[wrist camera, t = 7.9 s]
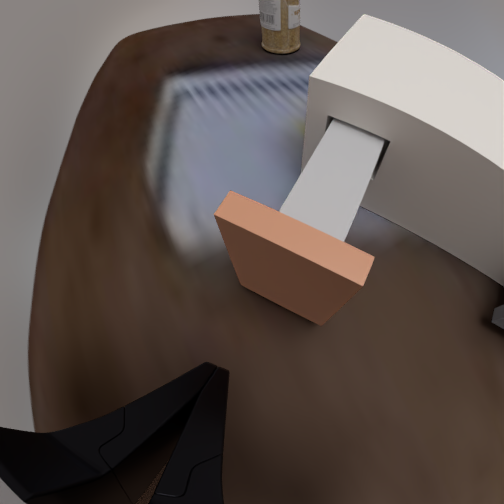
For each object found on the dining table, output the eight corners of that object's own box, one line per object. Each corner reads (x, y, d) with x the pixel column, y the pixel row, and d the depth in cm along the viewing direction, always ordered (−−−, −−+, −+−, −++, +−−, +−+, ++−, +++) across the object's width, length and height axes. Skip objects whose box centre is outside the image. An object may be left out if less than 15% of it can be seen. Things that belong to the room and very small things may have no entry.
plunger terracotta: (321, 326, 16) (363, 286, 8) (240, 284, 17) (213, 214, 9) (393, 151, 20) (427, 67, 12) (333, 125, 21) (347, 37, 13)
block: (529, 304, 16) (605, 266, 7) (300, 179, 21) (309, 76, 13) (532, 196, 19) (580, 146, 11) (349, 93, 24) (363, 14, 16)
